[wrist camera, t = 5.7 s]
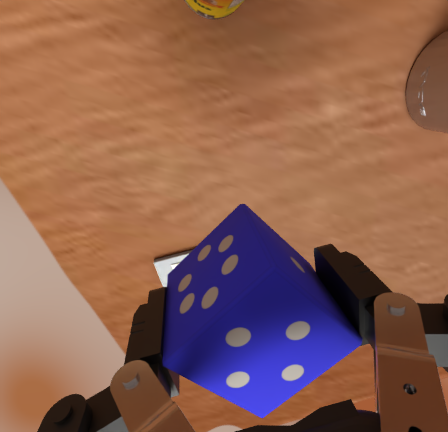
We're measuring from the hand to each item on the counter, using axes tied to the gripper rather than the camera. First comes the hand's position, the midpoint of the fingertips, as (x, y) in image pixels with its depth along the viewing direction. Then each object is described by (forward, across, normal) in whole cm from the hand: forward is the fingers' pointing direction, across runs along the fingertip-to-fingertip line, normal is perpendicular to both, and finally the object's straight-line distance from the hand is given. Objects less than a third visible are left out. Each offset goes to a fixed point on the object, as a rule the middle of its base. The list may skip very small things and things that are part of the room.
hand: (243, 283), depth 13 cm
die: (+1, 0, 0) cm, 1 cm away
